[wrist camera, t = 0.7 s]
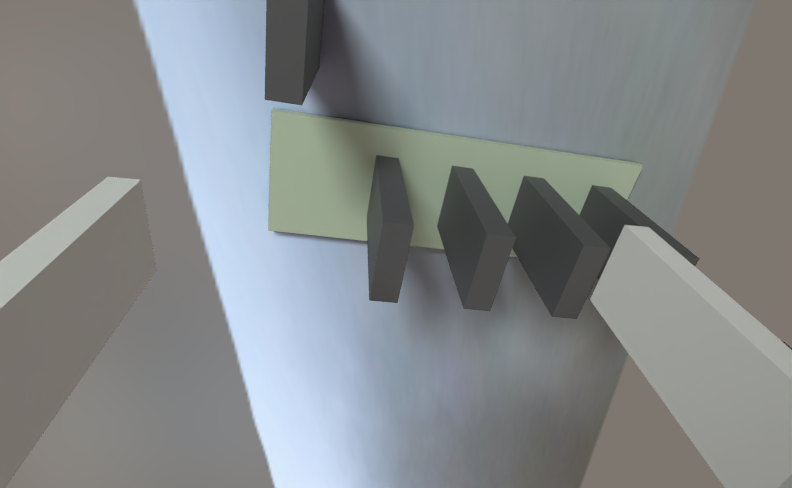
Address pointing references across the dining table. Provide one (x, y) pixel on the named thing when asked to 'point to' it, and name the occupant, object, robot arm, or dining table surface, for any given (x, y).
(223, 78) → the dining table surface
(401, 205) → the domino
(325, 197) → the strip
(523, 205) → the domino
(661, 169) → the dining table surface
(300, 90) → the domino
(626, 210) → the domino
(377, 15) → the dining table surface
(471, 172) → the domino
